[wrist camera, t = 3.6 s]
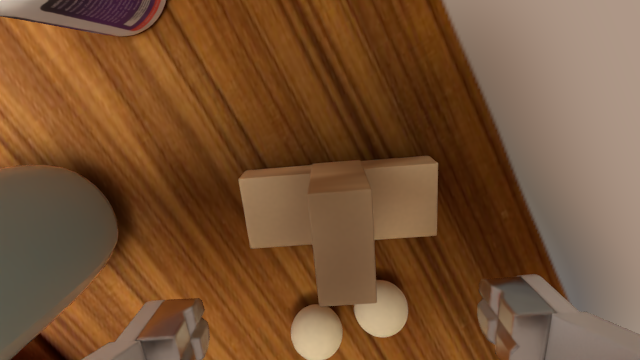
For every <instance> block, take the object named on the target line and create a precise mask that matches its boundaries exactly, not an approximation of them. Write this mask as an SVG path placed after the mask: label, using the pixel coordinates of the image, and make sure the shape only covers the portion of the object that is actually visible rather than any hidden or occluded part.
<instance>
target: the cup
mask: <svg viewBox="0 0 640 360" xmlns="http://www.w3.org/2000/svg"><path fill="white" fill-rule="evenodd" d="M117 240H118V223H117V218H116V215H115V213H114V210H113V208H112V206H111V204H110V203H109V201H108V199H107V198H106V196H105V195H104V194H103V193H102V192H101V190H100V189H99V188H98V187H96V186H95V185H94V184H93V183H92V182H91V181H90V180H88V179H87V178H85V177H84V176H82V175H81V174H78V173H76V172H74V171H72V170H69V169H66V168H62V167H57V166H53V165H16V166H9V167H2V168H0V360H11V359H12V358H13V357H14V356H15V355H16V354H17V353H18V352H20V351H21V350H22V349H23V348H24V347H25V346H26V345H27V344H28V343H30V342H31V341H32V340H33V339H34V338H35V337H36V336H37V335H38V334H40V333H41V332H42V331H43V330H44V329H45V328H46V327H47V326H48V325H49V324H51V323H52V322H53V321H54V320H55V319H56V318H57V317H58V316H59V315H60V314H61V313H62V312H63V311H65V310H66V309H67V308H68V307H69V306H70V305H71V304H72V303H73V302H74V301H75V300H76V299H77V298H78V297H79V296H80V295H81V294H82V293H83V292H84V291H85V290H86V289H87V287H88V286H89V285H90V284H91V283H92V282H93V281H94V280H95V278H96V277H97V276H98V275H99V274H100V272H101V271H102V269H103V268H104V267H105V265H106V264H107V262H108V261H109V259H110V258H111V256H112V254H113V252H114V249H115V247H116V244H117Z"/></svg>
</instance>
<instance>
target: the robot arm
mask: <svg viewBox="0 0 640 360" xmlns="http://www.w3.org/2000/svg"><path fill="white" fill-rule="evenodd" d="M479 293H480V294H481V296H482V297H483V299H482V300H481V301H480V302H479V304H478V310H477V315H478V320H479V325H480V328H481V330H482V332H483V334H484V336H485V337H486V339H487V340H488V341H490V342H491V343H493V344H495V345H496V347H495V354H496V355H497V357H498V358H499V360H640V335H639V334H637V333H635V332H632V331H630V330H628V329H626V328H623V327H621V326H619V325H616V324H614V323H612V322H609V321H607V320H604V319H602V318H599V317H597V316H595V315H592V314H590V313H588V312H579V311H578V310H577V309H576V308H575V307H574V306H573V305H571V304H570V303H569V302H568V301H567V300H566V299H565V298H564V297H563V296H562V295H561V294H559V293H558V292H557V291H556V290H555V289H554V288H553V287H552V286H551V285H550V284H549V283H547V282H546V281H545V280H544V279H543V278H542V277H541V276H539V275H536V274H531V275H520V276H516V277H503V278H490V279H481V281H480V283H479ZM204 310H205V309H204V306H203V302H202V300H201V299H199V298H194V299H172V300H156V301H149V302H147V303H145V304H144V306H143V307H142V308H141V309H140V311H139V312H138V313H137V314H136V316H135V317H134V318H133V320H132V321H131V322H130V323H129V325H128V326H127V327H126V328H125V330H124V331H123V332H122V334H121V335H120V336H119V337H118V339H117V340H116V341H115V342H110V343H108V344H106V345H104V346H103V347H101V348H99V349H98V350H96V351H95V352H93V353H91V354H90V355H88V356H87V357H85V358H83V359H82V360H202V359H203V358H204V357H205V354H206V352H207V349H208V344H209V338H210V336H209V326H208V322H207V321H205V320H204V319H203V318H202V315H203V313H204Z"/></svg>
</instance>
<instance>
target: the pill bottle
mask: <svg viewBox="0 0 640 360" xmlns="http://www.w3.org/2000/svg"><path fill="white" fill-rule="evenodd" d="M165 3H166V0H0V16H3V17H8V18H14V19H20V20H26V21H31V22H37V23H43V24H48V25H54V26H59V27H65V28H70V29H76V30H81V31H87V32H92V33H99V34H104V35H111V36H130V35H134V34H138V33H140V32H142V31H144V30H146V29H147V28H149V27H150V26H151V25H152V24H153V23H154V22H155V21H156V20H157V19H158V17H159V16H160V14H161V12H162V10H163V8H164V6H165Z"/></svg>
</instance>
